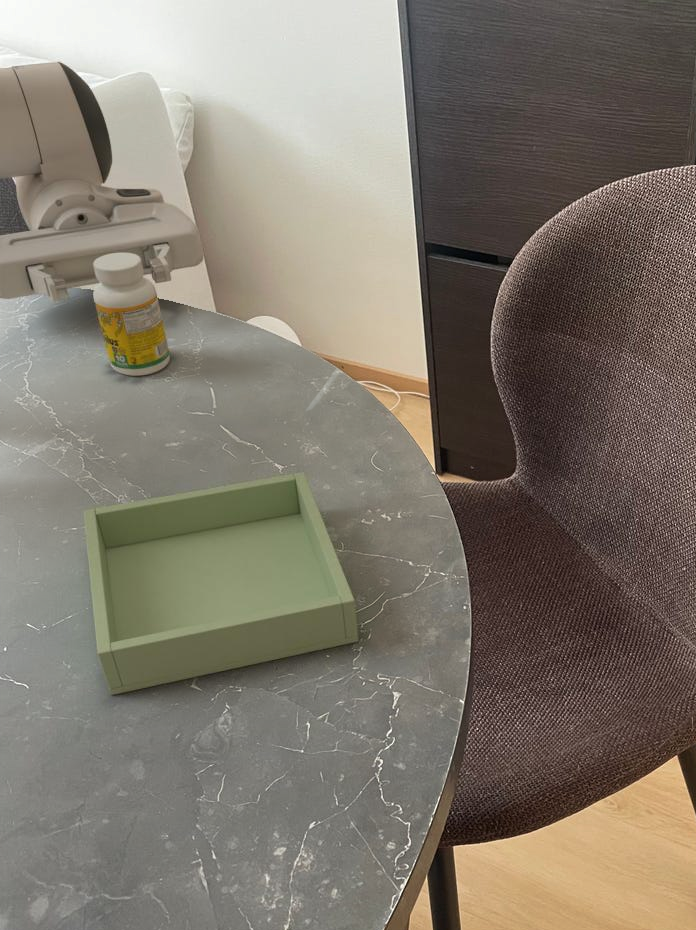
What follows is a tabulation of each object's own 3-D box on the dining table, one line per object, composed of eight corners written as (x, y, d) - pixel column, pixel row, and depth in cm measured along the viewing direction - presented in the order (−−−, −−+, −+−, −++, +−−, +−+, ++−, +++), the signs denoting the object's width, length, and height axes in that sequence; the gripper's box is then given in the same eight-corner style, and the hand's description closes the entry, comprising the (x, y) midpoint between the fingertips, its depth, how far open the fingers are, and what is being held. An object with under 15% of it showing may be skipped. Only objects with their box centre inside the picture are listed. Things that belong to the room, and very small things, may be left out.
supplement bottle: (178, 368, 95) (157, 265, 89) (120, 382, 93) (95, 278, 87) (159, 345, 99) (138, 244, 92) (103, 358, 97) (77, 256, 90)
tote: (111, 695, 64) (97, 653, 62) (95, 550, 75) (82, 509, 72) (358, 641, 68) (354, 600, 65) (309, 511, 79) (304, 471, 76)
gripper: (-38, 217, 100) (-17, 269, 91) (173, 186, 107) (212, 231, 98) (-18, 282, 104) (4, 337, 95) (184, 247, 111) (223, 296, 102)
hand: (112, 283), depth 96 cm, fingers open, 8 cm apart
